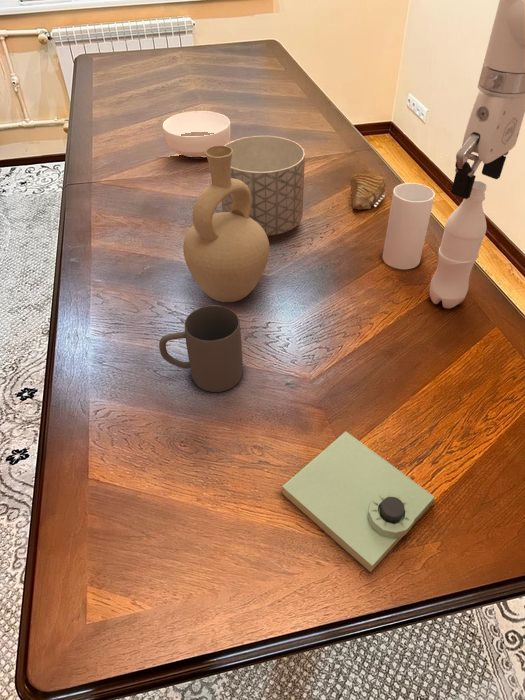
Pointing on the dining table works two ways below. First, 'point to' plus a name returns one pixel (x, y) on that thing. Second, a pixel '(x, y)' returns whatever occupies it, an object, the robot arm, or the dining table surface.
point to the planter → (270, 180)
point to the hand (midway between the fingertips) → (475, 185)
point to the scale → (356, 498)
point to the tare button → (392, 509)
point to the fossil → (367, 190)
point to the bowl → (196, 123)
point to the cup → (407, 225)
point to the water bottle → (459, 249)
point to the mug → (210, 348)
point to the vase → (225, 236)
